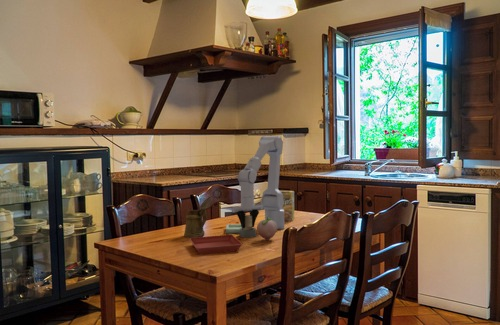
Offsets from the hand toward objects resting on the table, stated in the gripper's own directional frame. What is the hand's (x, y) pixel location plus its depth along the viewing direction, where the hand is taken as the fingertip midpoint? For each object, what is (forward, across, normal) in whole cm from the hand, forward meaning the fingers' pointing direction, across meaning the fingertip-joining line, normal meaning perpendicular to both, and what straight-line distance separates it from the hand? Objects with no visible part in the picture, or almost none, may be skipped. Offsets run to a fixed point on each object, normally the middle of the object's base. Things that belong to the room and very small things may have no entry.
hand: (247, 227), depth 202 cm
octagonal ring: (+4, 0, 0) cm, 4 cm away
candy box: (+4, -34, -25) cm, 43 cm away
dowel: (+4, 0, 0) cm, 4 cm away
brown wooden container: (+4, +20, -10) cm, 22 cm away
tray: (+4, -1, -12) cm, 13 cm away
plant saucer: (+4, +21, +14) cm, 26 cm away
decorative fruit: (+4, -3, +12) cm, 13 cm away
